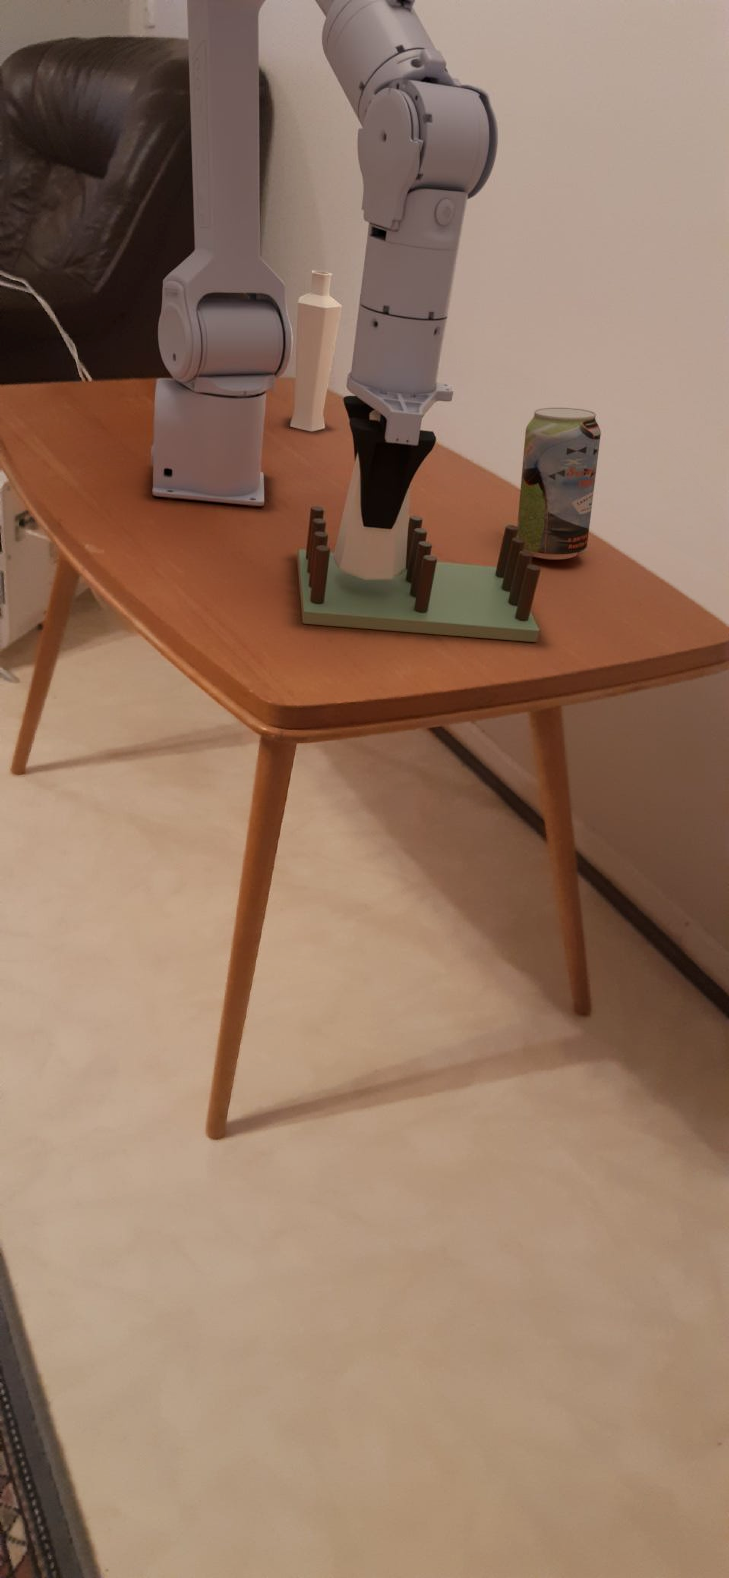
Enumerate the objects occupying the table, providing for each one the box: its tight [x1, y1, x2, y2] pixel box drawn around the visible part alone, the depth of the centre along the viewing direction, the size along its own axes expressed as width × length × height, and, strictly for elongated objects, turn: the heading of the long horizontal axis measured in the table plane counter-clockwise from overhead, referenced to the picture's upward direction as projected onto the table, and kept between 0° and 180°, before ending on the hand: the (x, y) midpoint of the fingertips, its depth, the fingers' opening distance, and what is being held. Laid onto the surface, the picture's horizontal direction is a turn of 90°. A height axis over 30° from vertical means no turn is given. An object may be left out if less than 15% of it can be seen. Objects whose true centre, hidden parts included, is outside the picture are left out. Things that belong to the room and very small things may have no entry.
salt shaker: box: [333, 410, 411, 580], centre depth 72 cm, size 5×5×11 cm
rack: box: [296, 505, 541, 643], centre depth 76 cm, size 17×11×5 cm, turn 95°
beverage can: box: [516, 407, 602, 560], centre depth 85 cm, size 6×7×12 cm
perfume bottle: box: [289, 269, 343, 432], centre depth 106 cm, size 5×4×15 cm
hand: (374, 515), depth 73 cm, fingers closed on salt shaker, 4 cm apart
